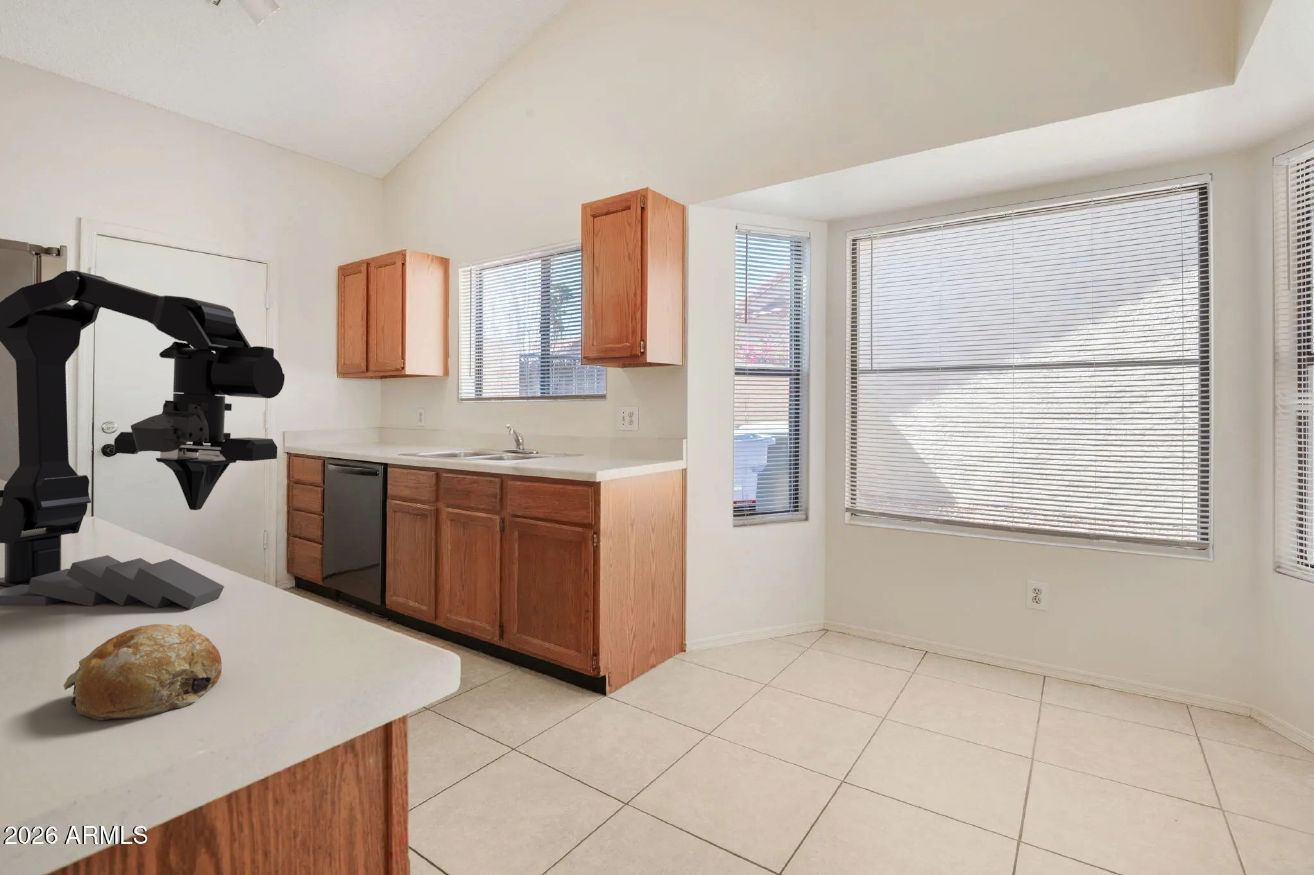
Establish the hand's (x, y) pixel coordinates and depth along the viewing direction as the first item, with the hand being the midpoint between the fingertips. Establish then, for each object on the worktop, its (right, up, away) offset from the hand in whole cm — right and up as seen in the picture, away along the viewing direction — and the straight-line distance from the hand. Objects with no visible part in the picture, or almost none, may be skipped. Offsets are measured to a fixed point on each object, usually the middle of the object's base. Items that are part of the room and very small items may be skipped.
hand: (195, 509), depth 86 cm
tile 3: (-4, -10, -4) cm, 12 cm away
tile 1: (-14, -11, -5) cm, 18 cm away
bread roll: (+18, -13, -31) cm, 38 cm away
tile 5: (+5, -11, -5) cm, 13 cm away
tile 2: (-8, -10, -4) cm, 14 cm away
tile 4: (+1, -11, -5) cm, 12 cm away
